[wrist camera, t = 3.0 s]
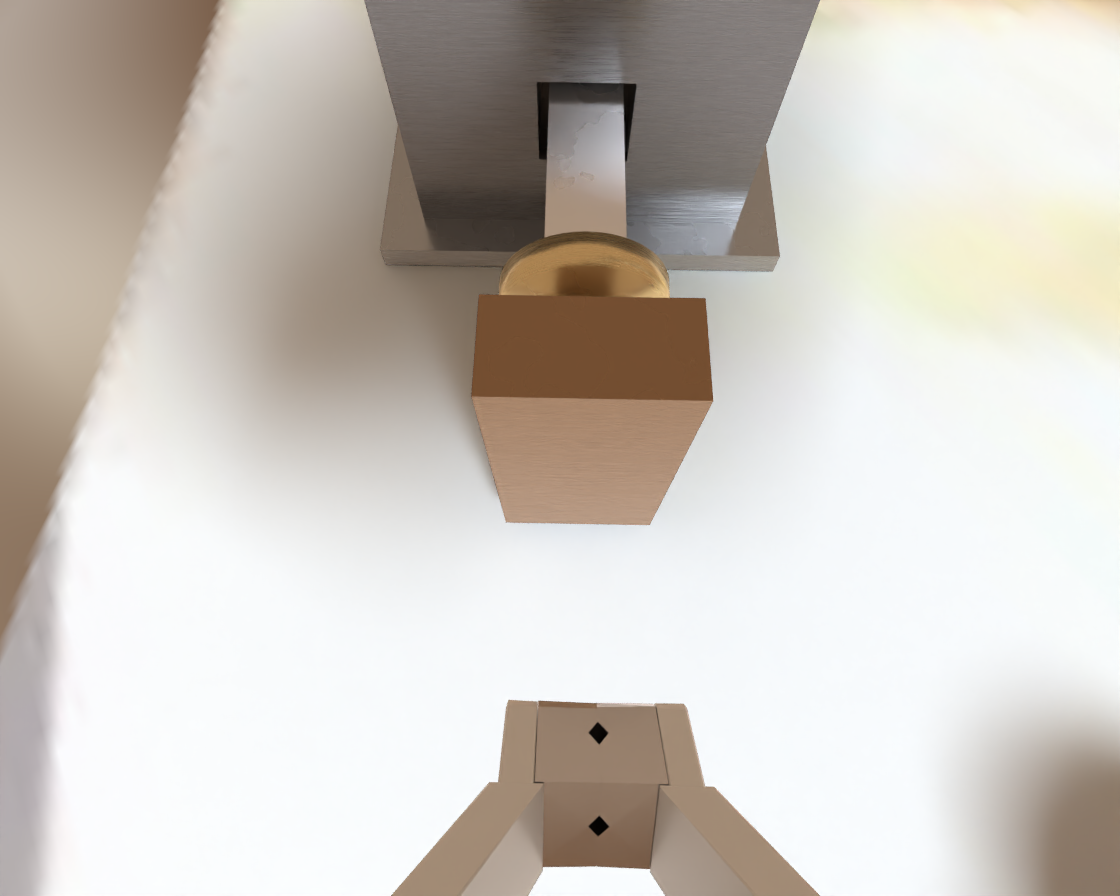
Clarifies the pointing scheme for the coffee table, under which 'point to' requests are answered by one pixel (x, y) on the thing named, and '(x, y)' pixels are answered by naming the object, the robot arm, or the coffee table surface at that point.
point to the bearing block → (523, 107)
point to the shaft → (587, 343)
